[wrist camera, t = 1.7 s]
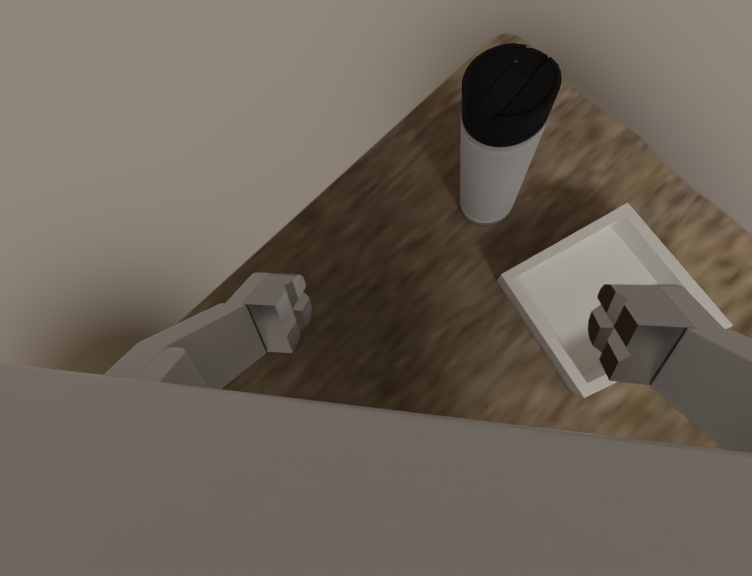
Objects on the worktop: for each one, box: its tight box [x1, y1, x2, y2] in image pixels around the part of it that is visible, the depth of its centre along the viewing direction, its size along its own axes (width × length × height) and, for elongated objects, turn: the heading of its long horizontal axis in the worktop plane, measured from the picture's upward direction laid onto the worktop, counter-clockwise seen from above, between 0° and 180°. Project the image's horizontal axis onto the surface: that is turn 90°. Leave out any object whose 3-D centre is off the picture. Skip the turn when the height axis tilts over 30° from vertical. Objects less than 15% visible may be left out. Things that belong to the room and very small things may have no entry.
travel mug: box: [460, 43, 562, 226], centre depth 30 cm, size 6×7×20 cm
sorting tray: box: [497, 203, 733, 398], centre depth 33 cm, size 14×14×4 cm
